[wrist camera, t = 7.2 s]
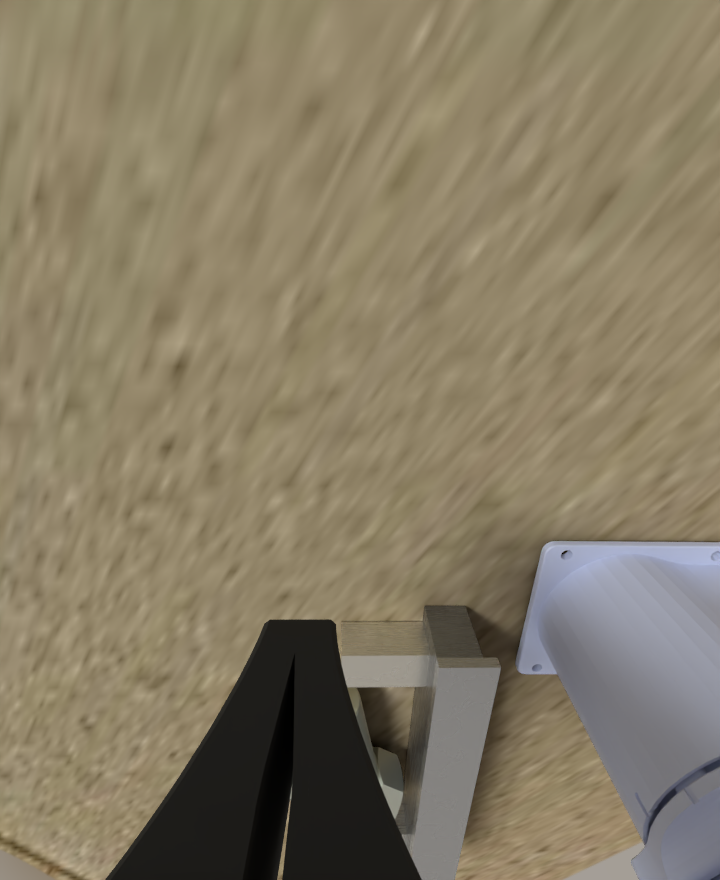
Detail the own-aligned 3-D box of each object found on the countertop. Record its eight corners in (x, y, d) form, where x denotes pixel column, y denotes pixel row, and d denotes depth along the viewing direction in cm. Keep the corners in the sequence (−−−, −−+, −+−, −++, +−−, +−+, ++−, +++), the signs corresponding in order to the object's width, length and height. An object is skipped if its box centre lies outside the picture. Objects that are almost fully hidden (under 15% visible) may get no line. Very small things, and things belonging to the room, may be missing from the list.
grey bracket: (477, 605, 22) (501, 667, 18) (439, 823, 29) (451, 895, 25) (341, 605, 21) (342, 668, 18) (336, 825, 28) (335, 899, 25)
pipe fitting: (311, 644, 23) (245, 728, 25) (310, 712, 19) (232, 805, 21) (431, 701, 25) (363, 775, 27) (450, 772, 22) (370, 853, 23)
